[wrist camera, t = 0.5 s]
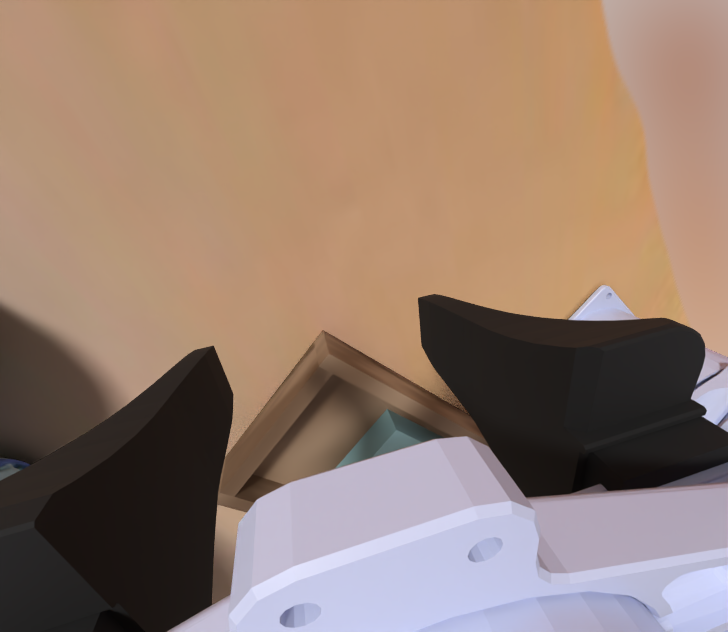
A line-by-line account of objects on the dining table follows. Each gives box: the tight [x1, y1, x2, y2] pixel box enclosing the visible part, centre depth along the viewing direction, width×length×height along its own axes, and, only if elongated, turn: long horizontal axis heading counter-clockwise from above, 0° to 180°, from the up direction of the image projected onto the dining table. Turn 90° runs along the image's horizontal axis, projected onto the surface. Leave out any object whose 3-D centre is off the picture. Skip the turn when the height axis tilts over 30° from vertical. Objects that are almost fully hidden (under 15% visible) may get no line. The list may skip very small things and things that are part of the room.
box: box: [217, 331, 492, 512], centre depth 26 cm, size 19×13×3 cm
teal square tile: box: [336, 409, 444, 468], centre depth 27 cm, size 9×8×2 cm
